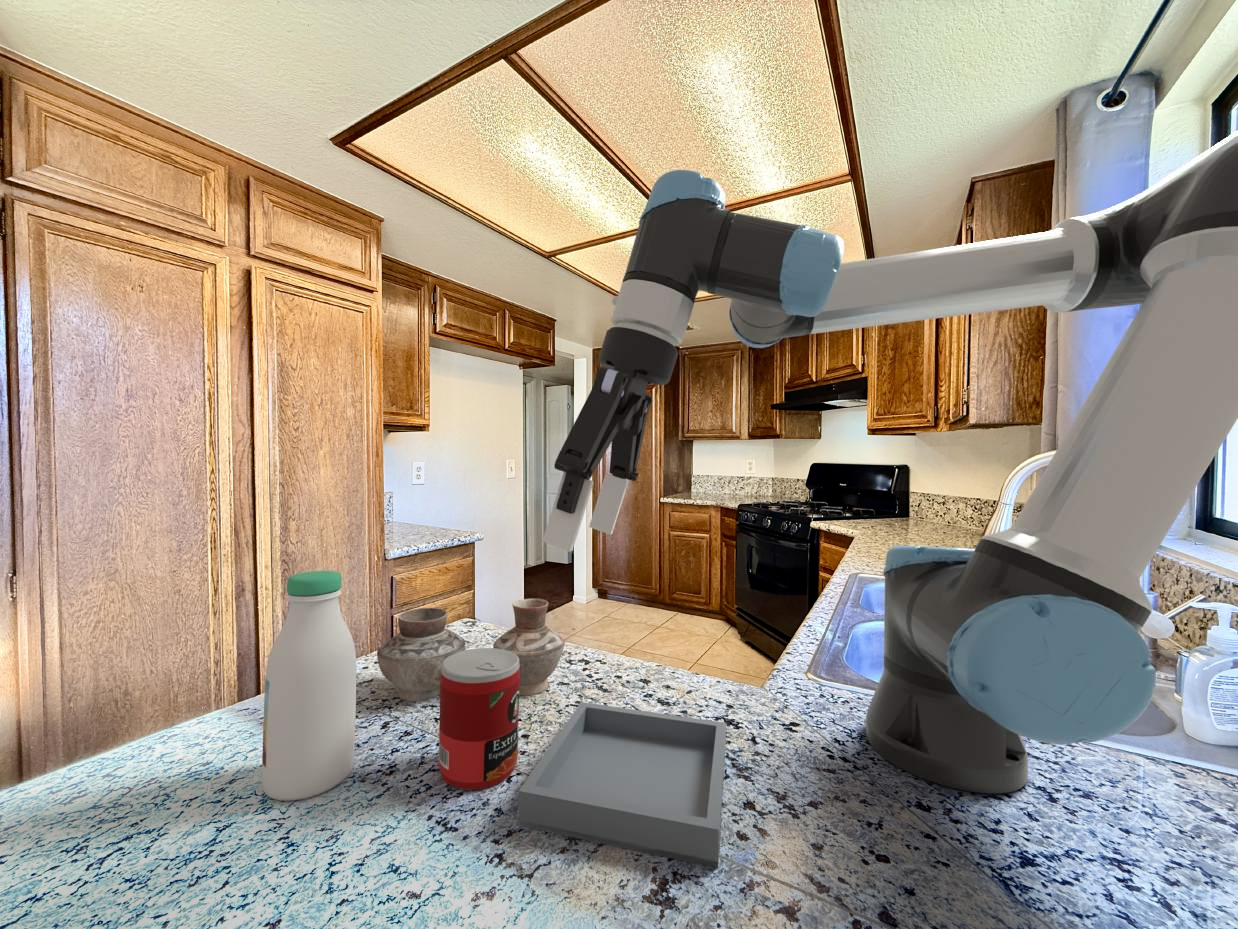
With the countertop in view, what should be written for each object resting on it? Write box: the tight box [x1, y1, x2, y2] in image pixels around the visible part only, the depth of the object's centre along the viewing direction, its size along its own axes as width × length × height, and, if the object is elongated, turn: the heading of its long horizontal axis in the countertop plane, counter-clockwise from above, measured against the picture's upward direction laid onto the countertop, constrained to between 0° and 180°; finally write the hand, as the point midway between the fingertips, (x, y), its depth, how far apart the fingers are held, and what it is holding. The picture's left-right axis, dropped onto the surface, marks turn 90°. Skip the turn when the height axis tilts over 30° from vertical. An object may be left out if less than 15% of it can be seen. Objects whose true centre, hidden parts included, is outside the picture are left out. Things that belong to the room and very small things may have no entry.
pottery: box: [376, 598, 566, 702], centre depth 69 cm, size 11×25×12 cm, turn 99°
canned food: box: [438, 647, 520, 791], centre depth 51 cm, size 8×8×11 cm
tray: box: [517, 701, 727, 869], centre depth 49 cm, size 17×17×3 cm
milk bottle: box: [261, 570, 357, 802], centre depth 49 cm, size 8×8×20 cm
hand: (581, 537), depth 51 cm, fingers open, 13 cm apart
